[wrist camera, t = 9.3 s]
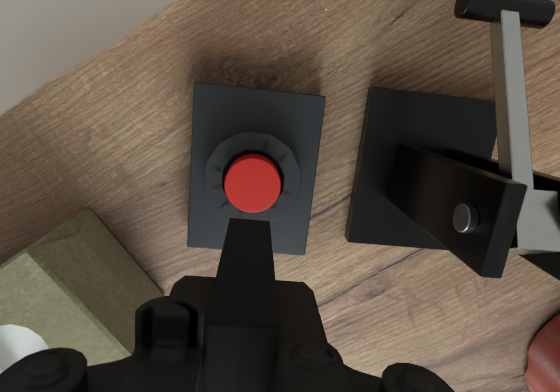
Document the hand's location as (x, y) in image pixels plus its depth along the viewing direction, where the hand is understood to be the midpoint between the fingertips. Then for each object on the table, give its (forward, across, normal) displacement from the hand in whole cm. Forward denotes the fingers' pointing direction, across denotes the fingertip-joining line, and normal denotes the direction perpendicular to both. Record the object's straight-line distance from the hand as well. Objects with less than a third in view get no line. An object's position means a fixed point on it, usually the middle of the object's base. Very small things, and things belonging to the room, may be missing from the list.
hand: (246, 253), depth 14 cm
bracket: (+15, +13, +1) cm, 20 cm away
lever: (+7, +13, +6) cm, 16 cm away
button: (+12, 0, 0) cm, 12 cm away
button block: (+15, 0, 0) cm, 15 cm away
